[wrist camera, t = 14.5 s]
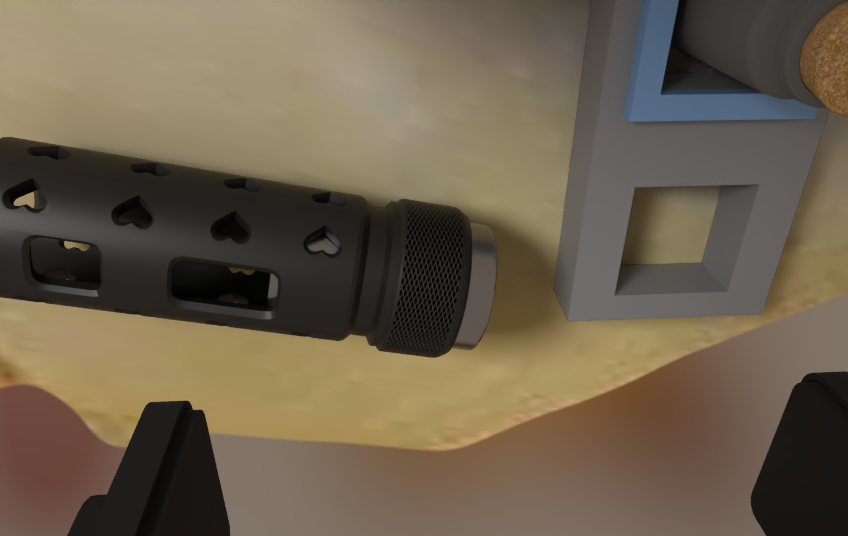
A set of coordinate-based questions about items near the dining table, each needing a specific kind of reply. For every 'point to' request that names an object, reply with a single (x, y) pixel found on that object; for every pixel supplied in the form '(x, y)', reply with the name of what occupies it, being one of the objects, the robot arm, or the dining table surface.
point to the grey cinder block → (675, 173)
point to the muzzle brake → (240, 251)
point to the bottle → (772, 45)
